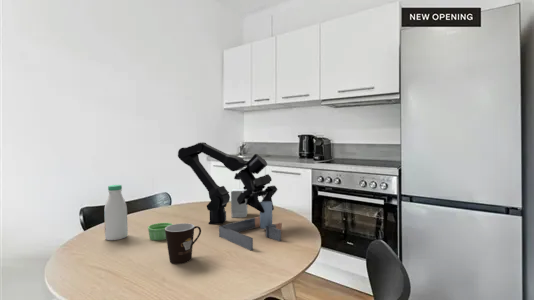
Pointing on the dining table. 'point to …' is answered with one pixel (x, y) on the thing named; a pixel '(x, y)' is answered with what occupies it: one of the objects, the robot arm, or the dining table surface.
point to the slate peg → (266, 214)
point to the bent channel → (242, 240)
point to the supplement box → (235, 207)
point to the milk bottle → (115, 214)
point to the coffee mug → (180, 242)
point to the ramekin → (158, 231)
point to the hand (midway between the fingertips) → (268, 211)
